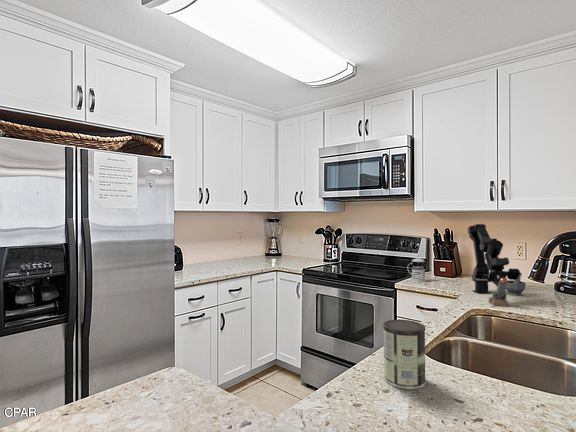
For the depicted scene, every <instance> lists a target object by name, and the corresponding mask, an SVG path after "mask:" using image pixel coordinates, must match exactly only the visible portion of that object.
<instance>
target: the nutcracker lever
mask: <svg viewBox="0 0 576 432" xmlns="http://www.w3.org/2000/svg"><path fill="white" fill-rule="evenodd" d="M507 281H508V278H507V277H506V278H505V277H501V278H500V281H499V283H498V287H497V286H496V293H495V294H496V299H503V298H504V294H506V291H507V290H506V286H507Z"/></svg>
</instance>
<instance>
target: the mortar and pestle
mask: <svg viewBox="0 0 576 432" xmlns="http://www.w3.org/2000/svg"><path fill="white" fill-rule="evenodd" d="M521 278H522V272H520V275H519V277H518V279H517V280H507V286H506V290H505V291H507V295H508V296H512V297H522V296H523V295H522V293H523V292H524V291H525V289H526V286H527V285H526V282H524V281H521Z"/></svg>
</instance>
